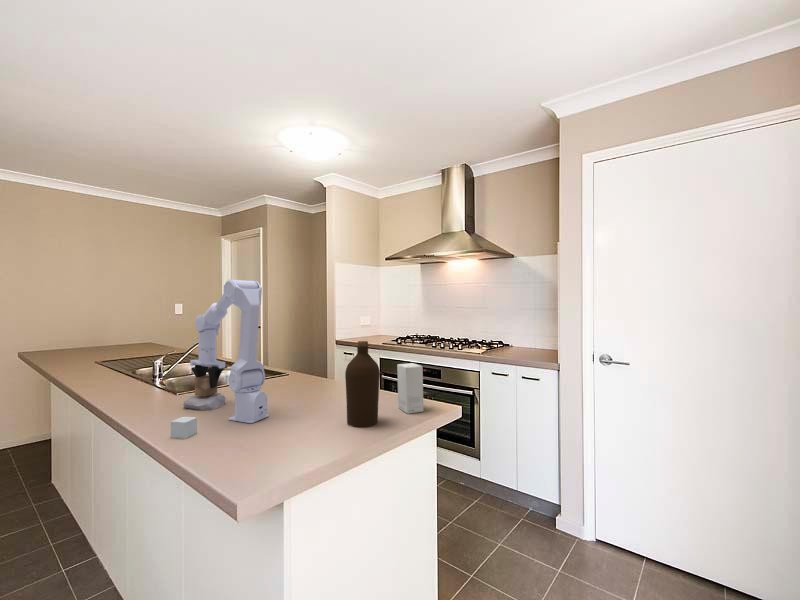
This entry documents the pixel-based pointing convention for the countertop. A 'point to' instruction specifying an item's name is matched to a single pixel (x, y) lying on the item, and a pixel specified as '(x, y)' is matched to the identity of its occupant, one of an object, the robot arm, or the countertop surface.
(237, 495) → the countertop surface
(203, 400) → the stone block
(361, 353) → the olive oil
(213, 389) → the walnut block
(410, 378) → the skincare box
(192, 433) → the blue-grey block
